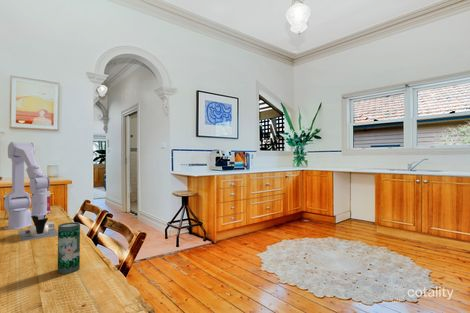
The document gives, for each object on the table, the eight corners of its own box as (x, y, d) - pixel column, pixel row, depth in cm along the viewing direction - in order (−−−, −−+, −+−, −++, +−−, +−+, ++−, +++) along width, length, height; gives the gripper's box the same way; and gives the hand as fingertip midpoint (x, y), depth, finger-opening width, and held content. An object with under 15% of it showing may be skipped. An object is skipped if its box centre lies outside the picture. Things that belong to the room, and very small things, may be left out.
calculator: (38, 216, 162) (38, 191, 162) (31, 216, 162) (31, 191, 162) (51, 212, 173) (51, 189, 173) (44, 212, 173) (44, 189, 173)
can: (56, 275, 85) (57, 227, 85) (59, 268, 90) (59, 223, 90) (79, 271, 87) (79, 225, 87) (80, 264, 93) (80, 221, 93)
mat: (18, 231, 130) (18, 231, 130) (53, 227, 140) (53, 226, 140) (20, 242, 115) (20, 241, 115) (59, 236, 125) (59, 235, 125)
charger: (40, 229, 134) (40, 223, 134) (52, 227, 137) (52, 221, 137) (41, 231, 130) (41, 225, 130) (54, 229, 134) (54, 223, 134)
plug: (25, 237, 120) (25, 228, 120) (25, 235, 123) (25, 226, 123) (53, 233, 127) (53, 225, 127) (52, 231, 130) (52, 223, 130)
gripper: (52, 204, 122) (51, 233, 122) (47, 199, 133) (47, 227, 133) (32, 206, 118) (32, 236, 118) (30, 201, 129) (29, 229, 129)
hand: (39, 232), depth 125 cm, fingers open, 6 cm apart
